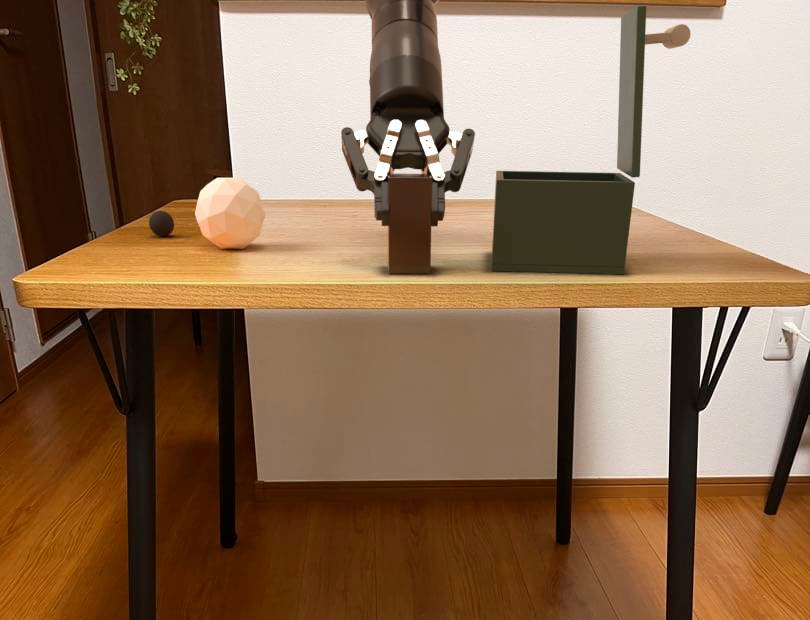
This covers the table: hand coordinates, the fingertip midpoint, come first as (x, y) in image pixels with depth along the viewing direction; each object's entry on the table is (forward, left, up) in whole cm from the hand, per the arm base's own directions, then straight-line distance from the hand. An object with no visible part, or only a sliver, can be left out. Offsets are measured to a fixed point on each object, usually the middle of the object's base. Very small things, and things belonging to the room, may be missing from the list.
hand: (410, 220), depth 86 cm
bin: (-9, -15, -5) cm, 18 cm away
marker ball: (+38, -2, -5) cm, 39 cm away
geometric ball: (+25, -1, -5) cm, 26 cm away
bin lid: (-14, -18, +11) cm, 25 cm away
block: (+1, -2, -5) cm, 5 cm away
